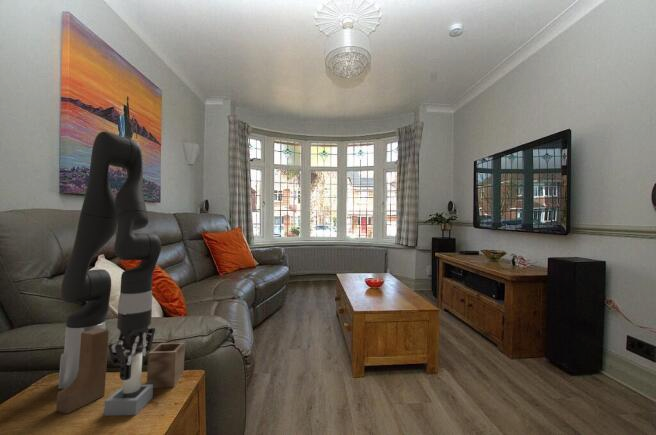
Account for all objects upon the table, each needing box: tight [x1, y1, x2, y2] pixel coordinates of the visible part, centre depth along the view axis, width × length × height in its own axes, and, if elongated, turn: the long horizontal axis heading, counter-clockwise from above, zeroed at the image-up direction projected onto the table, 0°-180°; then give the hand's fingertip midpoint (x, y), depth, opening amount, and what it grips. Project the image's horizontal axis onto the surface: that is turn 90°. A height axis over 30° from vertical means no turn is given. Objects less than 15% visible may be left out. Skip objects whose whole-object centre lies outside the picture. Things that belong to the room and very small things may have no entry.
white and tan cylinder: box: [121, 351, 143, 394], centre depth 75 cm, size 4×4×9 cm
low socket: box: [103, 383, 154, 416], centre depth 75 cm, size 8×8×4 cm
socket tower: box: [146, 342, 186, 389], centre depth 88 cm, size 8×8×10 cm
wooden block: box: [55, 328, 109, 415], centre depth 76 cm, size 9×4×18 cm, turn 162°
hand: (131, 374), depth 75 cm, fingers closed on white and tan cylinder, 4 cm apart
